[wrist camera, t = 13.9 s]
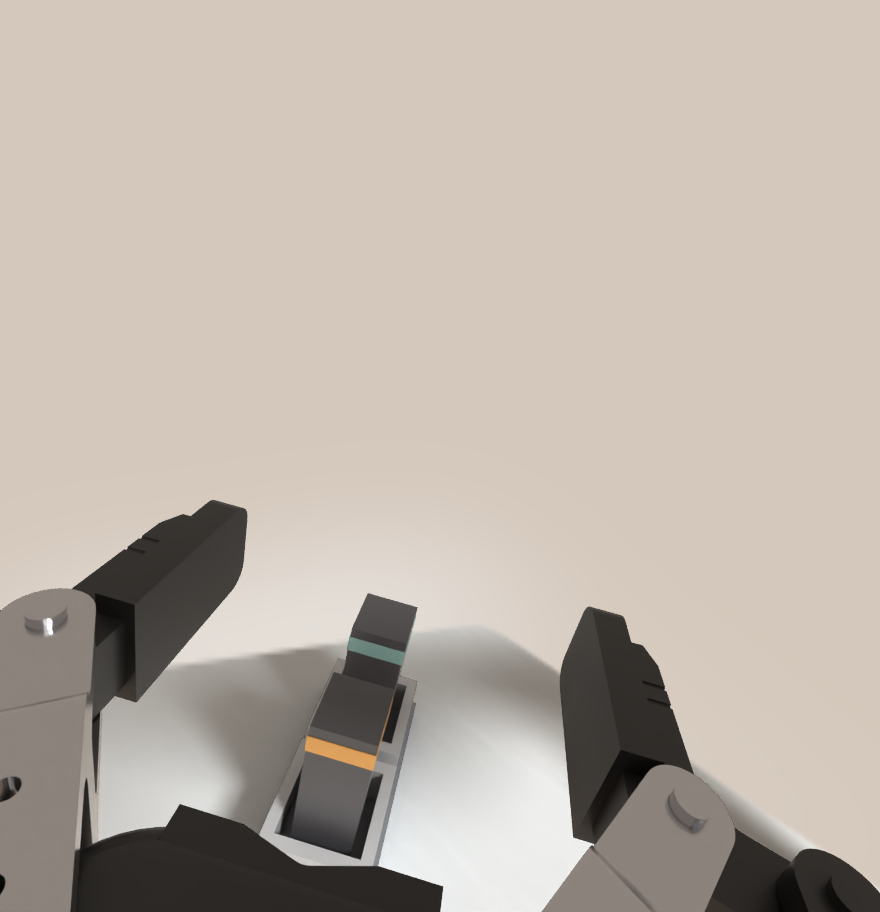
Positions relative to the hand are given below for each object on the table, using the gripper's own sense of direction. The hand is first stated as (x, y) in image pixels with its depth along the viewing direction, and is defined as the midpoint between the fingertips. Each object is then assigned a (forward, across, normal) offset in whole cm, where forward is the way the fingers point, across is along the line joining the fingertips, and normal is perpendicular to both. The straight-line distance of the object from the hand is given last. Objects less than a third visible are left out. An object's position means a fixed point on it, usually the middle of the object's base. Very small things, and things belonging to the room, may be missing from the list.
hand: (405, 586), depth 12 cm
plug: (+12, +2, +31) cm, 33 cm away
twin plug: (+20, +2, +31) cm, 37 cm away
